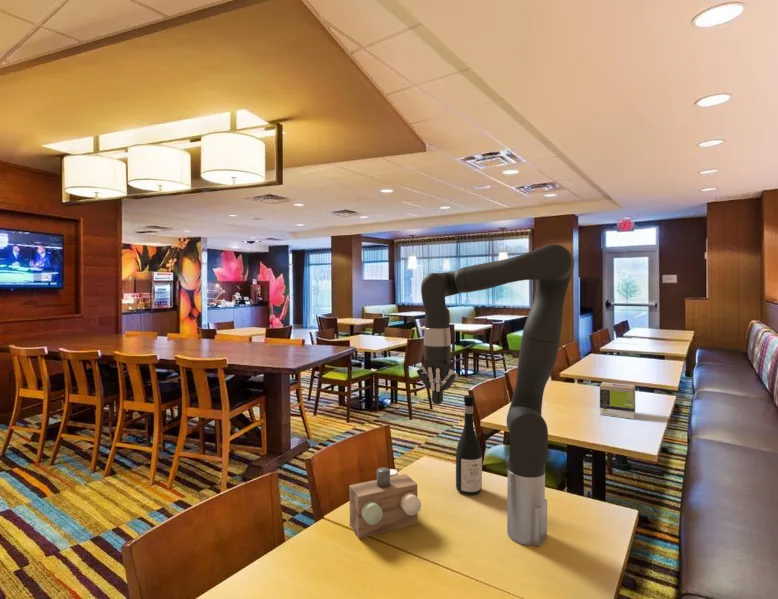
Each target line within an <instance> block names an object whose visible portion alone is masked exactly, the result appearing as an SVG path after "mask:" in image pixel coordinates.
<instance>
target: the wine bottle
mask: <svg viewBox="0 0 778 599" xmlns="http://www.w3.org/2000/svg"><path fill="white" fill-rule="evenodd" d="M474 401H475V397H474V396H473V395H471V394H470V395H469V394H467V395H464V396H463V403H464V424H463V430H462V433H461V434H460V435H461V436H460V438H459V440H458V443H457V446H456V452H455V488H456V490H457V491H458V492H459V493H460V494H462V495H464V496H465V495H466V496H475V495H478V494H480V493H481V491H482V488H483V453H482V450H481V445H480V442H479V440H478V437H477V434H476V432H475V428H474Z"/></svg>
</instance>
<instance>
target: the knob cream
mask: <svg viewBox="0 0 778 599" xmlns="http://www.w3.org/2000/svg"><path fill="white" fill-rule="evenodd" d="M400 506H401V508H402V509H403V510H404V511H405V512H406V513H407V514H408V515H410V516H412V515H415V514H417V515H418V513H419V512H420V510H421V508H422V502H421V499H420V498H419V497H418V496H417V497H416V496H415V495H414V494H413V493H411V492H408V493H405V494H404V495H403V496H402V497H401V499H400Z"/></svg>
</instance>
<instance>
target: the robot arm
mask: <svg viewBox="0 0 778 599" xmlns="http://www.w3.org/2000/svg"><path fill="white" fill-rule="evenodd" d="M574 268H575V260H574V256H573V254H572V253H571V252H570V250H569V249H568V248H566V246H563V245H561V244H557V243H549V244H546V245H544V246H541V247H539V248H536V249H534V250H531V251H528V252H526V253H523V254H520V255H516V256H513V257H510V258H505V259H501V260H500V259H499V260H494V261H490V262H484V263H483V262H482V263H479V264H474V265H468V266H464V267H461V268H459V269H458V268H457V270H452V271H446V272H430V273H428V274H426V275H425V276H424V278H423V279H422V282H421V286H420V294H421V300H422V305H423V309H424V333H423V334H424V335H423V360H424V362H423V366H422V367H421V368H419V369H417V370H416V373H417V375H418V376H419V379H420V380H421V381H422V383H423V384H424V386H425V388H426V389H430V390H431V401H432V403H433V404H434V405H441V404H442V403H443V401H444V391H447V390H448V389H450V388H451V386H452V385H453V384H454V382H456V380H457V379H458V377H459V373H458V372H455V371H454V370H453V369H452V368H453V365H452V364H451V359H452V356H451V354H452V352H451V351H452V350H451V349H452V347H451V346H452V345H451V343H452V342H451V339H452V338H451V330H450V329H451V328H450V326H451V325H450V323H451V322H450V320H451V319H450V318H451V317H450V315H451V314H450V310H449V308H448V307H447V306H446V297H450V296H455V295H457V294H458V295H459V294H463V293H464V294H465V293H473V292H478V291H484V290H489V289H493V288H497V287H499V286H503V285H506V284H509V283H516V282H520V281H533V280H534V281H535V280H536V285H535V286H536V287H535V295H534V299H533V301H532V305H531V308H530V310H529V312H528V316H527V318H526V320H525V324H524V326H523V332H522V336H521V341H520V346H519V355H518V359H517V360H518V362H517V372H516V380H515V381H516V382H515V387H514V391H513V395H512V399H511V402H510V406H509V409H508V412H507V414H506V427H507V430H508V432H509V450H508V451H509V454H508V458H507V493H506V494H507V503H506V504H507V507H506V508H507V515H506V516H507V517H506V521H507V522H506V528H507V529H506V532H507V535H508V537H509V539H511V540H512V541H514V542H516V543H518V544H521V545H526V546H537V547H541V546H542V544H543V543H544V541H545V540H546V538H547V537H548V500H547V499H546V466H547V463H548V448H549V447H548V446H549V433H548V432H549V431H548V429H549V428H548V425H547V422H546V420H545V419H544V418H543V416H542V409H543V408H542V407H543V397H544V393H545V392H544V391H545V389H546V385H547V384H548V381H549V379H550V376H552V373H553V370H554V368H555V366H556V363H557V359H558V356H559V355H558V353H559V348H560V342H561V336H562V328H563V327H562V326H563V318H564V317H563V316H564V304H565V298H566V295H567V291H568V287H569V284H570V280H571V277H572V275H573V271H574ZM446 378H447V380H446Z"/></svg>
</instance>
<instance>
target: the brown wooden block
mask: <svg viewBox="0 0 778 599" xmlns="http://www.w3.org/2000/svg"><path fill="white" fill-rule="evenodd" d="M348 489H349V526H350V528H351V530H352V531H353V532H354V534H355V535H356V537H357V538H358V539H363V538H367V537H370V536H375V535H379V534H383V533H386V532H391V531H395V530H398V529H403V528H405V527H406V528H407V527H411V526H414V525H418V513H417V514H415V515H412V516H410V515H408V514H407V513H406V512H405V511H404V510H403V509H402V508H401V506H400V499H401V497H402V496H403V495H404V494H405V493H408V492H411V493H413V494H414V495H415V496H416V497H417V498H418V483H417V482H416V481H415V480H413V479H412V478H411V477H410V476H409V475H408V474H407V473H403V474H400V475H399V474H398V476H393V477H390V486H389V487H386V488H381V487H378V486H377V479H375V480H369V481H364V482H359V483H354V484H349V488H348ZM368 501H375V502H376V503H377V504H378V505H379V507H380V508H381V509H382V511H383V516H382V519H381V520H380V522H379V523H377V524H375V525H369V524H368V523H367V522H366V521H365V519H364V518H363V517H362V515H361V509H362V506H363V504H365V503H366V502H368Z"/></svg>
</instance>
